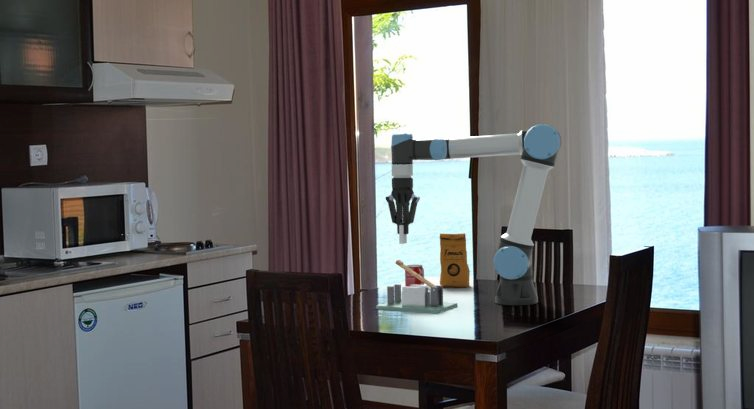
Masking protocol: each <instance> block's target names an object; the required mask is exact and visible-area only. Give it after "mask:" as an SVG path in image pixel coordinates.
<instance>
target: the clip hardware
mask: <svg viewBox="0 0 754 409" xmlns="http://www.w3.org/2000/svg"><path fill="white" fill-rule="evenodd" d="M435 286H436V287H431V307H439V305H443V302H444V288H443V287H444V286H441V285H437V284H436V285H435ZM386 293H387V295H386V296H387V298H386V299H387V301H386V303H387V302H388V304H392V305H393V304H394V300H395V302H401V300H402V284H401V283H400V284H398V283H397V284H394V285H393V286H392V285H388V286H386Z"/></svg>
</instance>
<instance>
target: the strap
mask: <svg viewBox="0 0 754 409" xmlns="http://www.w3.org/2000/svg"><path fill="white" fill-rule="evenodd" d="M395 264H396V265H397V266H398V267H400V268H402V270H404V271H405V270H406V271H407V272H409V273H410V274H412V275H413V276H415V277H416V278H417V279H419V280H420V281H422V282H423V283H424V285H428V286H429V287H436V285H435V284H434V283H432V282H431V281H429V280H428V279H426V278H425V277H424V278H423V277H422V276H420V275H419V274H417V273H416V272H415V271H413V270H412V269H410V268H409V267H407V265H406V264H404V261H402V260H401V259H398V260H396V261H395Z"/></svg>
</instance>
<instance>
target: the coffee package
mask: <svg viewBox="0 0 754 409" xmlns="http://www.w3.org/2000/svg"><path fill="white" fill-rule="evenodd" d="M466 238H467V237H466V233H464V232H463V233H439V246H440V253H439V254H440V255H439V261H440V275H439V276H440V277H439V286H443V287H447V288H468V287H469V286H470V272H471V271H470V267H469V264H468V251H467V239H466Z"/></svg>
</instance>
